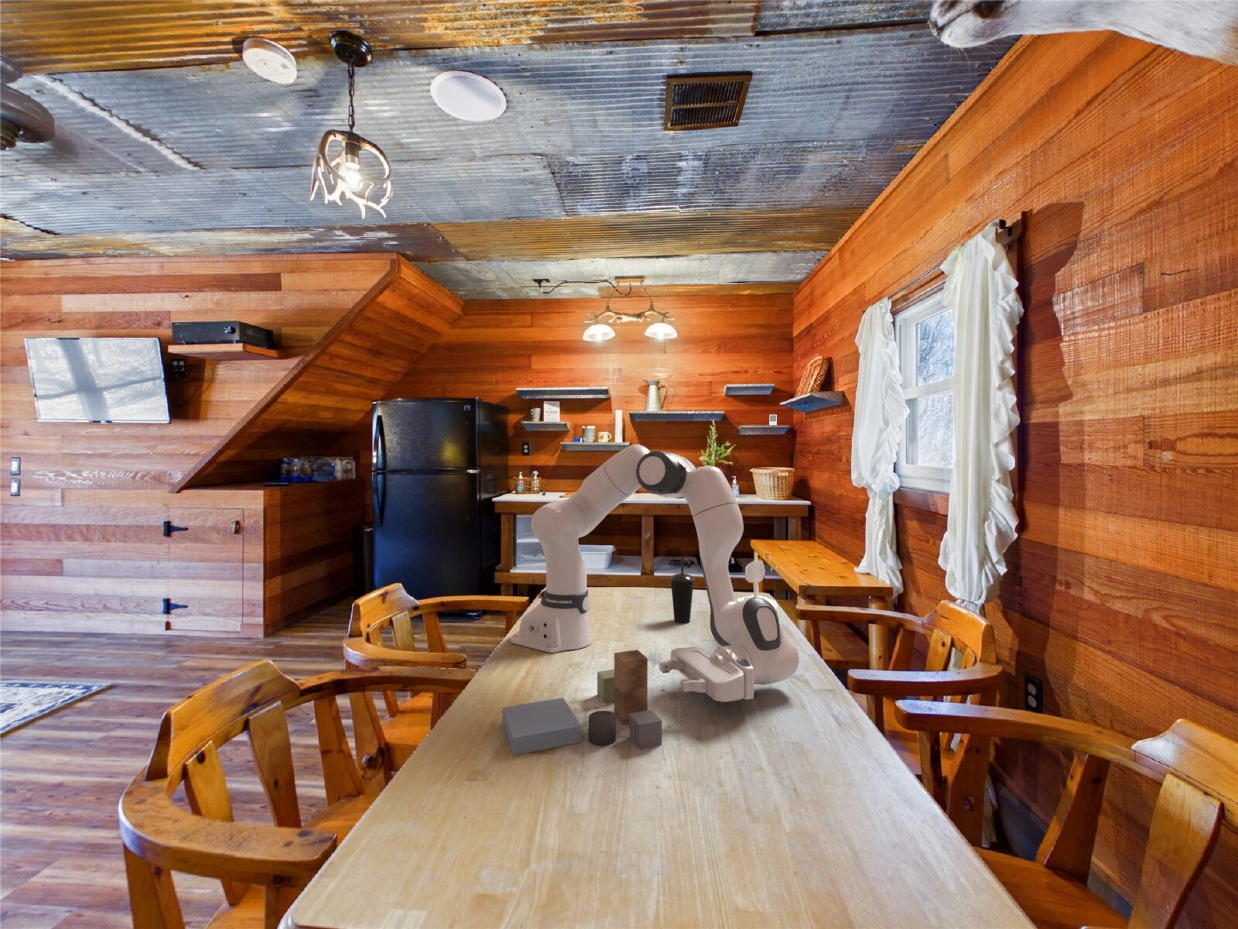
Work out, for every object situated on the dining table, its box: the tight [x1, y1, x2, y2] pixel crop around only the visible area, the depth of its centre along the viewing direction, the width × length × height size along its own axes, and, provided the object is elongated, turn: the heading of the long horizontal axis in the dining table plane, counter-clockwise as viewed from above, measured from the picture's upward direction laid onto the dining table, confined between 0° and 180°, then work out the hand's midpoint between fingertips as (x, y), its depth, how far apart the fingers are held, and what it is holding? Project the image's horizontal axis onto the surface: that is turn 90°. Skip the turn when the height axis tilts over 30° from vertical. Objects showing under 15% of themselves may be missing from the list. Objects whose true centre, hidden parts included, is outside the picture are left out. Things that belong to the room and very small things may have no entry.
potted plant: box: [735, 554, 779, 613], centre depth 155 cm, size 13×12×25 cm
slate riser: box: [501, 697, 582, 756], centre depth 100 cm, size 12×12×3 cm
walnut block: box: [613, 649, 649, 725], centre depth 106 cm, size 5×5×12 cm
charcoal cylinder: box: [587, 710, 617, 747], centre depth 98 cm, size 5×5×4 cm
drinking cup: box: [669, 556, 696, 624], centre depth 168 cm, size 8×8×20 cm
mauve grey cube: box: [628, 709, 663, 750], centre depth 97 cm, size 4×4×4 cm
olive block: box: [596, 668, 614, 704], centre depth 115 cm, size 4×4×5 cm
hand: (670, 676), depth 110 cm, fingers open, 8 cm apart
